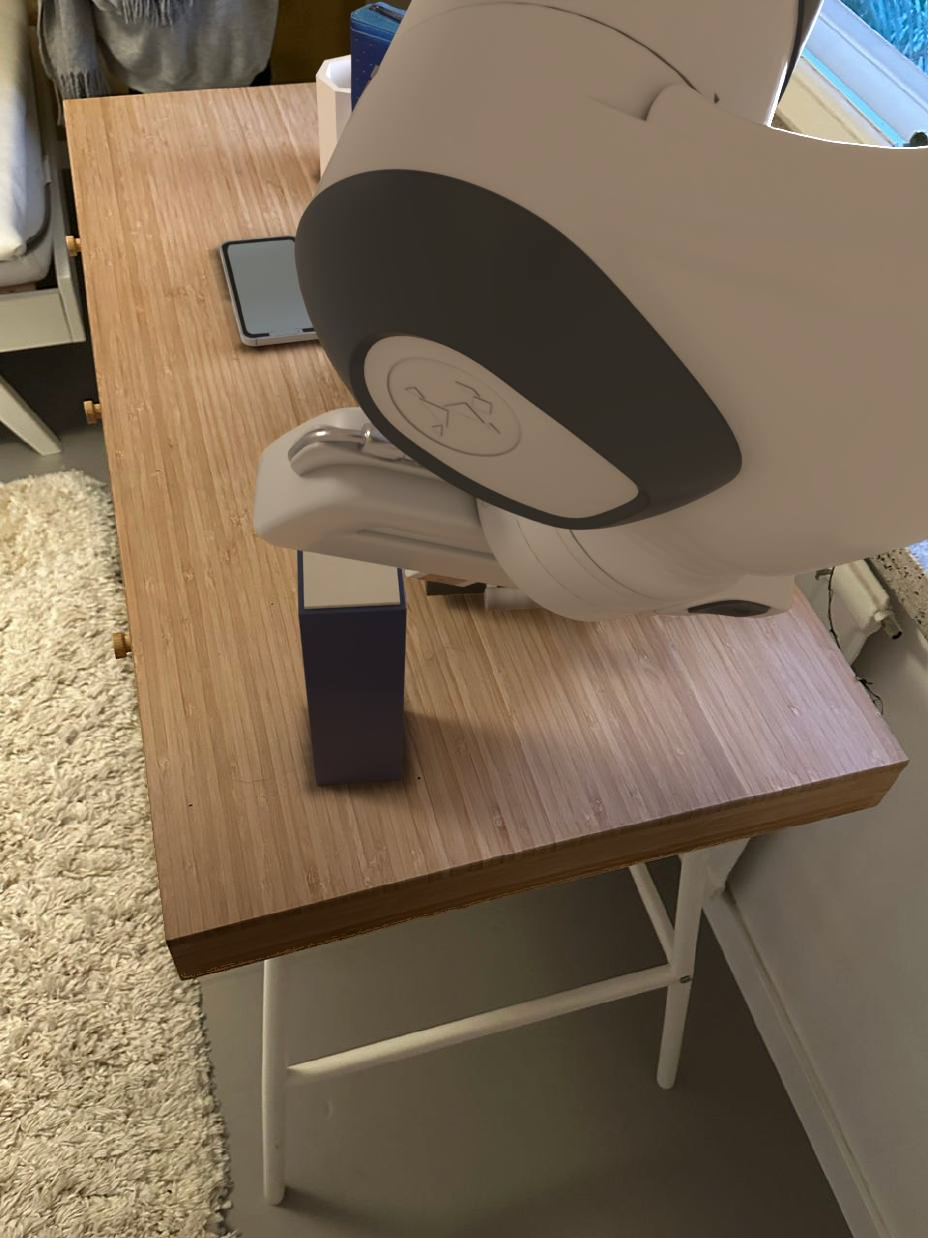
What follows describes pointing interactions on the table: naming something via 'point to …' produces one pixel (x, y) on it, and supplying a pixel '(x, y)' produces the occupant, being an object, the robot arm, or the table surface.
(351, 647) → the box
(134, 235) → the table surface
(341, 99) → the mug
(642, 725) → the table surface
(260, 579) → the table surface
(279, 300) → the smartphone
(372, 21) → the book
